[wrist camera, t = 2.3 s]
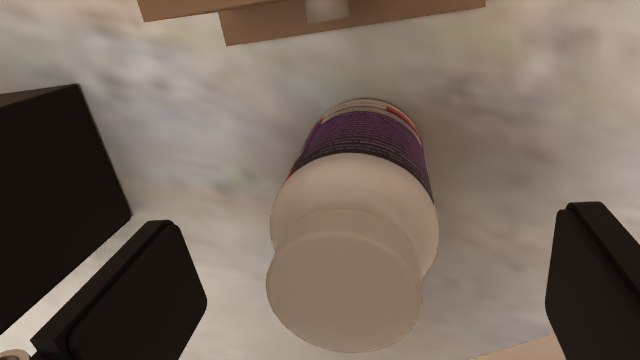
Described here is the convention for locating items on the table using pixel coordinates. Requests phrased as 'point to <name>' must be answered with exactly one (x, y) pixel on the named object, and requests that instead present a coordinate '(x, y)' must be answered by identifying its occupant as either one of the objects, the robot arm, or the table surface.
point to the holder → (297, 14)
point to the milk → (529, 351)
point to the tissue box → (50, 194)
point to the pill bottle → (353, 230)
